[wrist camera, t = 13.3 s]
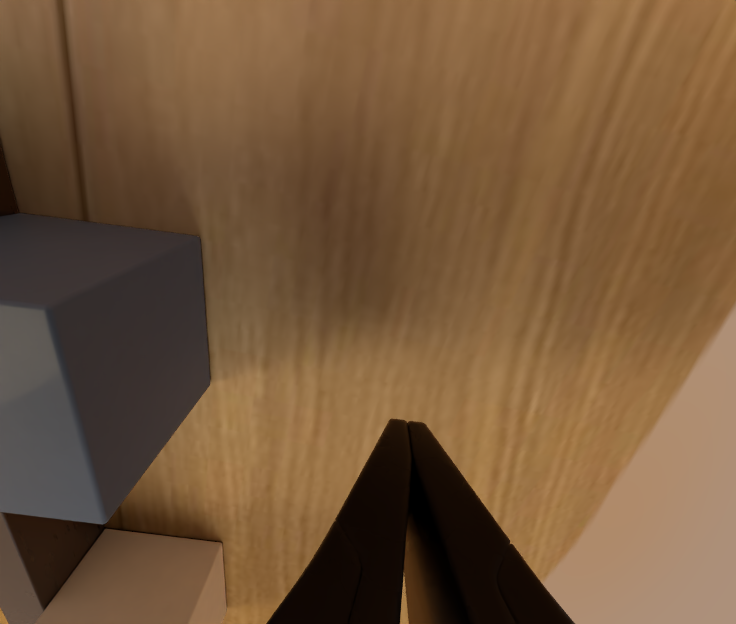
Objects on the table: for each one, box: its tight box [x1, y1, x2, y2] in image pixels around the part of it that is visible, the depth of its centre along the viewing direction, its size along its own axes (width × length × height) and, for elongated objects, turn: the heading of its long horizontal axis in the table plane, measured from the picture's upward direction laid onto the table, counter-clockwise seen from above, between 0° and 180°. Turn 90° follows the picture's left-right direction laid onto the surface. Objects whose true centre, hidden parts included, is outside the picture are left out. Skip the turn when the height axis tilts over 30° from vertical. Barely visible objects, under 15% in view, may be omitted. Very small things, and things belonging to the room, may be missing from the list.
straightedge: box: [0, 146, 104, 624], centre depth 12 cm, size 2×26×3 cm, turn 174°
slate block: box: [0, 213, 210, 524], centre depth 9 cm, size 5×5×5 cm
